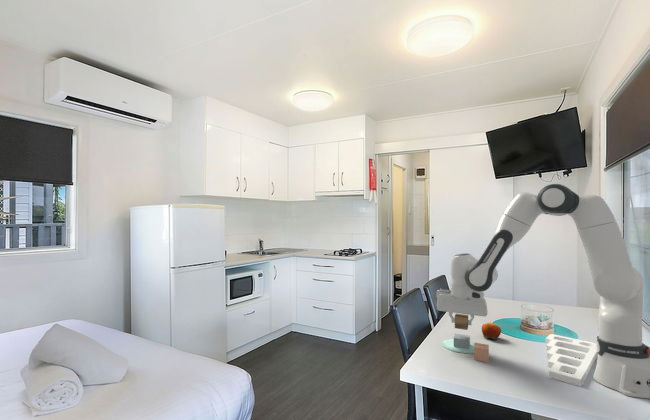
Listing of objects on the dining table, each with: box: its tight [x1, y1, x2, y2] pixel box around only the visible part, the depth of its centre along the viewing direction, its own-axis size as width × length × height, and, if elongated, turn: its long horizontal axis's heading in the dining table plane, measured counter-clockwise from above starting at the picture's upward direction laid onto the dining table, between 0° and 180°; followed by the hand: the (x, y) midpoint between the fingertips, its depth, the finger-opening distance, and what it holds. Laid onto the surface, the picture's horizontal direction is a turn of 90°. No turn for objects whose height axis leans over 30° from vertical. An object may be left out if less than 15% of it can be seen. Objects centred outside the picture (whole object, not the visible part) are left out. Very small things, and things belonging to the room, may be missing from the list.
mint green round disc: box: [441, 333, 476, 355], centre depth 145 cm, size 16×16×4 cm
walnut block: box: [454, 313, 469, 331], centre depth 146 cm, size 5×5×5 cm
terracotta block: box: [473, 342, 490, 363], centre depth 133 cm, size 5×5×5 cm
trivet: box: [545, 333, 598, 387], centre depth 133 cm, size 45×18×3 cm, turn 134°
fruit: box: [481, 322, 502, 341], centre depth 155 cm, size 8×8×8 cm
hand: (461, 323), depth 146 cm, fingers closed on walnut block, 5 cm apart
